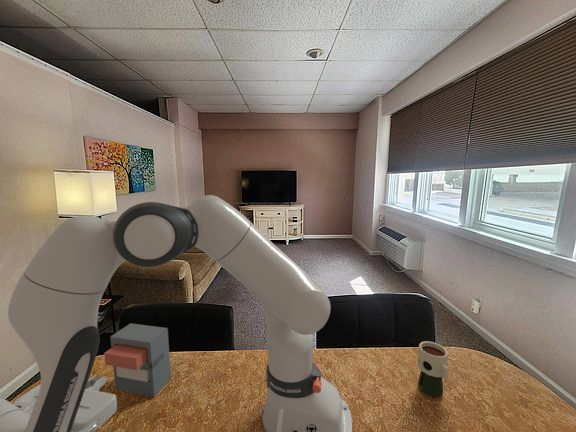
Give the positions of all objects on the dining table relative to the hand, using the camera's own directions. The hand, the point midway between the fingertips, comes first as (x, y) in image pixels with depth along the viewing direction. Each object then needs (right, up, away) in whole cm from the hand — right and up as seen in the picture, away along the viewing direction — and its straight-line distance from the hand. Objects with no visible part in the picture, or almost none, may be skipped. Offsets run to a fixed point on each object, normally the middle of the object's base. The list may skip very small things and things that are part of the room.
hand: (101, 378), depth 61 cm
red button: (+2, -1, +8) cm, 8 cm away
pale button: (+2, -6, +11) cm, 13 cm away
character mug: (+87, -11, +11) cm, 88 cm away
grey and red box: (+3, -11, +14) cm, 18 cm away
